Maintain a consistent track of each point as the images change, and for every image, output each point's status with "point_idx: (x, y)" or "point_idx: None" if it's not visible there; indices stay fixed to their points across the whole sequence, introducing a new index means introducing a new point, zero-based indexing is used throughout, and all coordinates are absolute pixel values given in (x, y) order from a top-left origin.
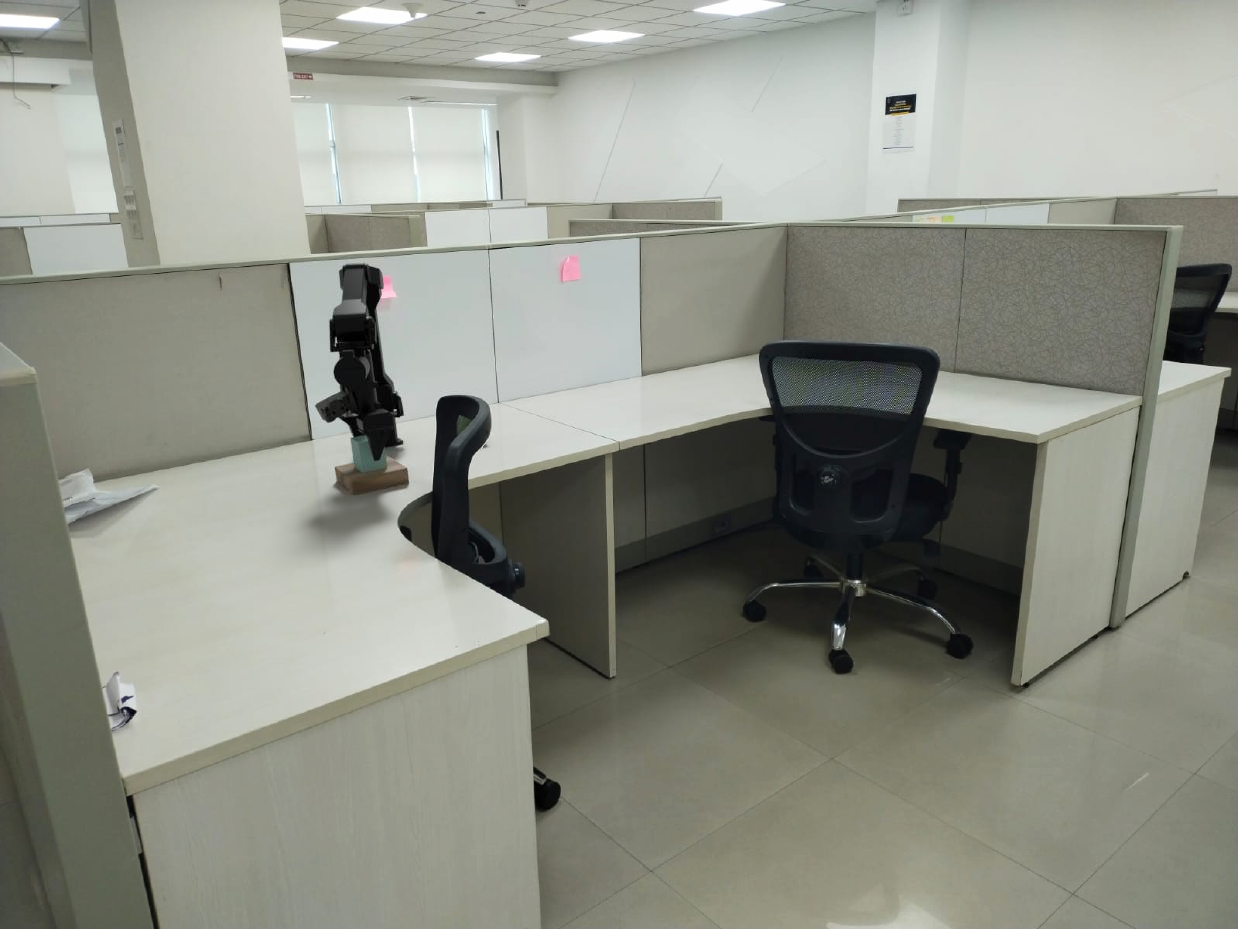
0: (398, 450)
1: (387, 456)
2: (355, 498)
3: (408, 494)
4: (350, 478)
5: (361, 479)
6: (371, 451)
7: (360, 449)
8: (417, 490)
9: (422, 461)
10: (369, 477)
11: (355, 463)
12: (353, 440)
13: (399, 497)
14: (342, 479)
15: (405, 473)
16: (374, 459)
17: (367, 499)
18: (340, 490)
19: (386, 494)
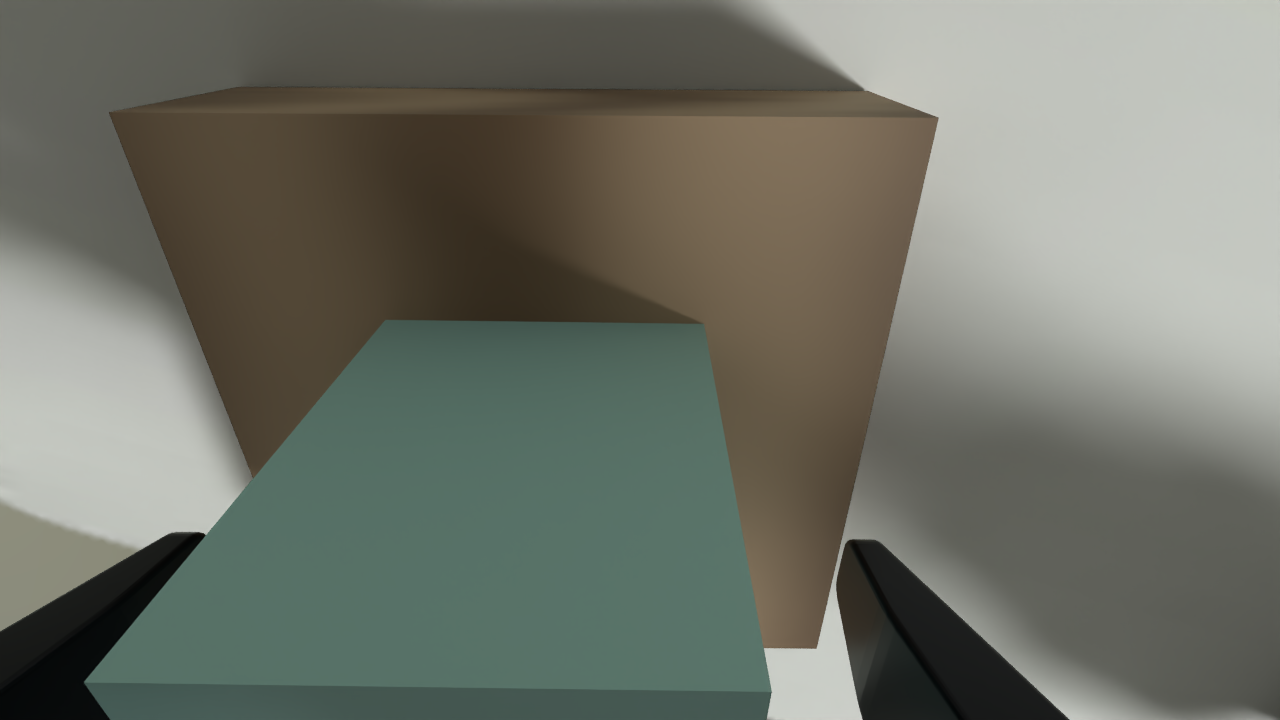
0: (1167, 700)
1: (801, 641)
2: (109, 58)
3: (72, 455)
4: (196, 118)
5: (174, 235)
6: (26, 640)
7: (204, 563)
8: (152, 524)
9: (790, 713)
10: (207, 329)
11: (630, 353)
12: (509, 672)
13: (10, 386)
14: (611, 100)
15: None
16: (150, 545)
17: (31, 153)
18: (492, 8)
19: (135, 336)
